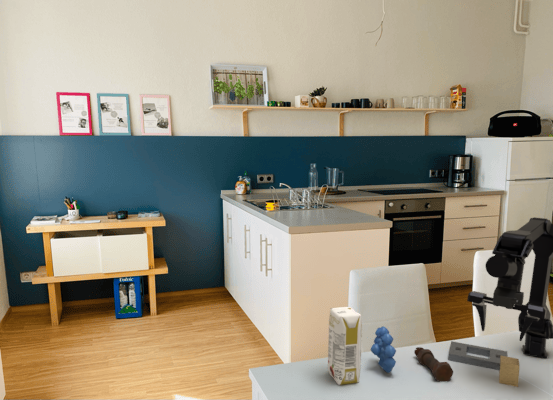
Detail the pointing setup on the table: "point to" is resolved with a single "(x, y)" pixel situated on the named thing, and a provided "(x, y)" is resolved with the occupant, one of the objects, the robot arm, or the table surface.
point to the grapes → (384, 349)
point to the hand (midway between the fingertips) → (501, 335)
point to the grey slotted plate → (461, 349)
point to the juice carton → (344, 345)
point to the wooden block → (509, 371)
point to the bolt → (434, 364)
